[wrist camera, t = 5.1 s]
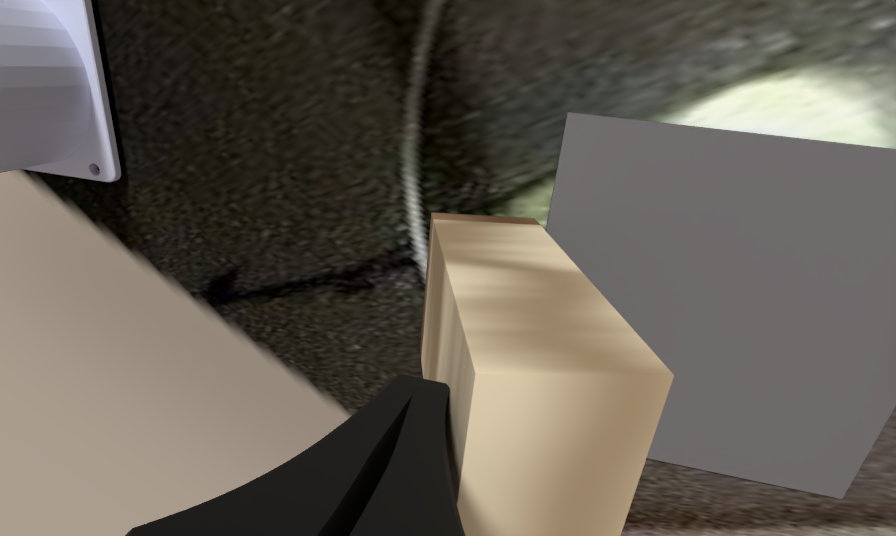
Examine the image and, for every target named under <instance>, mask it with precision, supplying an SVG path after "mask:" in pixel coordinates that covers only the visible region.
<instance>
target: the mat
mask: <svg viewBox="0 0 896 536" xmlns="http://www.w3.org/2000/svg"><path fill="white" fill-rule="evenodd" d="M546 232H547V233H548V234H549V235H550V237H551V238H552V239H553V240H554V241H555V242H556V243H557V244H558V246H559V247H560V248H561V249H562V250H563V251H564V252H565V253H566V254H567V256H568V257H569V258H570V259H571V260H572V261H573V262H574V263H575V265H576V266H577V267H578V268H579V269H580V270H581V271H582V272H583V274H584V275H585V276H586V277H587V278H588V279H589V280H590V281H591V283H592V284H593V285H594V286H595V287H596V288H597V289H598V290H599V291H600V293H601V294H602V295H603V296H604V297H605V298H606V299H607V300H608V302H609V303H610V304H611V305H612V306H613V307H614V308H615V309H616V311H617V312H618V313H619V314H620V315H621V316H622V317H623V318H624V320H625V321H626V322H627V323H628V324H629V325H630V326H631V327H632V328H633V330H634V331H635V332H636V333H637V334H638V335H639V336H640V337H641V339H642V340H643V341H644V342H645V343H646V344H647V345H648V346H649V348H650V349H651V350H652V351H653V352H654V353H655V354H656V355H657V357H658V358H659V359H660V360H661V361H662V362H663V363H664V364H665V365H666V367H667V368H668V369H669V370H670V371H671V372H672V373H673V374H674V378H673V381H672V384H671V387H670V390H669V392H668V395H667V398H666V401H665V404H664V407H663V410H662V413H661V416H660V419H659V422H658V425H657V428H656V431H655V434H654V437H653V440H652V443H651V446H650V449H649V452H648V455H647V458H649V459H653V460H658V461H663V462H668V463H672V464H677V465H682V466H687V467H691V468H696V469H701V470H706V471H710V472H715V473H720V474H725V475H730V476H734V477H739V478H744V479H749V480H753V481H758V482H763V483H768V484H772V485H777V486H782V487H787V488H791V489H796V490H801V491H806V492H811V493H815V494H820V495H825V496H830V497H834V498H839V499H842V498H843V496H844V495H845V493H846V491H847V489H848V488H849V486H850V484H851V483H852V481H853V479H854V477H855V476H856V474H857V472H858V470H859V469H860V467H861V465H862V463H863V462H864V460H865V458H866V456H867V455H868V453H869V451H870V449H871V448H872V446H873V444H874V443H875V441H876V439H877V437H878V436H879V434H880V432H881V430H882V429H883V427H884V425H885V423H886V422H887V420H888V418H889V416H890V415H891V413H892V411H893V409H894V408H895V406H896V149H889V148H880V147H871V146H862V145H854V144H845V143H836V142H827V141H818V140H809V139H801V138H792V137H783V136H774V135H765V134H756V133H748V132H739V131H730V130H721V129H712V128H703V127H695V126H686V125H677V124H668V123H659V122H651V121H642V120H633V119H624V118H615V117H606V116H598V115H589V114H580V113H571V112H567V117H566V123H565V128H564V134H563V139H562V145H561V150H560V155H559V161H558V166H557V172H556V177H555V183H554V188H553V194H552V199H551V205H550V210H549V215H548V221H547V226H546Z"/></svg>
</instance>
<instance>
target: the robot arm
mask: <svg viewBox="0 0 896 536" xmlns="http://www.w3.org/2000/svg"><path fill="white" fill-rule="evenodd" d="M97 166H98V167H99V170H100V172H99V171H98V169H97ZM17 169H25V170H32V171H38V172H45V173H51V174H58V175H64V176H71V177H77V178H84V179H90V180H96V181H103V182H113V181H117V180H118V179H120V176H121V168H120V162H119V157H118V151H117V145H116V140H115V134H114V128H113V123H112V117H111V111H110V106H109V100H108V94H107V89H106V83H105V77H104V72H103V66H102V60H101V55H100V49H99V44H98V38H97V32H96V27H95V21H94V15H93V10H92V4H91V0H0V173H1V172H6V171H11V170H17ZM449 391H450V388H449V386H448V385H447V384H446V383H442V382H437V381H432V380H427V379H422V378H417V377H413V376H408V375H403V374H399V375H398V376H396V377H395V378H394V379H393V380H392V381H391V382H390V383H389V384H388V385H387V386H386V387H384V388H383V389H382V390H381V391H380V392H379V393H378V394H377V395H376V396H375V397H374V398H372V399H371V400H370V401H369V402H368V403H367V404H366V405H364V406H363V407H362V408H361V409H360V410H358V411H357V412H356V413H355V414H354V415H352V416H351V417H350V418H349V419H348V420H347V421H345V422H344V423H343V424H341V425H340V426H338V427H337V428H336V429H334V430H333V431H332V432H331V433H329V434H328V435H326V436H325V437H324V438H322V439H321V440H320V441H318V442H317V443H315V444H314V445H312V446H311V447H309V448H308V449H307V450H305V451H303V452H302V453H300V454H299V455H297V456H296V457H294V458H292V459H291V460H289V461H287V462H286V463H284V464H282V465H280V466H279V467H277V468H275V469H273V470H271V471H270V472H268V473H266V474H264V475H262V476H260V477H258V478H256V479H255V480H252V481H251V482H249V483H247V484H245V485H243V486H241V487H238V488H236V489H234V490H232V491H230V492H227V493H226V494H223V495H221V496H218V497H216V498H214V499H212V500H209V501H207V502H204V503H202V504H199V505H197V506H194V507H192V508H189V509H187V510H184V511H181V512H178V513H175V514H173V515H170V516H167V517H164V518H162V519H159V520H156V521H153V522H150V523H147V524H144V525H141V526H138V527H135V528H132V530H130V532H128V533H127V534H126V535H125V536H465V533H464V529H463V526H462V523H461V519H460V515H459V511H458V508H457V504H456V499H455V495H454V491H453V486H452V480H451V475H450V469H449V462H448V455H447V446H446V432H445V425H446V417H447V408H448V400H449Z"/></svg>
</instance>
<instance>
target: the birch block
mask: <svg viewBox="0 0 896 536" xmlns="http://www.w3.org/2000/svg"><path fill="white" fill-rule="evenodd" d="M420 351H421V361H422V370H423V379H427V380H432V381H437V382H442V383H446V384H447V385H448V386H449V388H450V391H449V400H448V408H447V417H446V425H445V432H446V446H447V455H448V462H449V469H450V475H451V480H452V486H453V491H454V495H455V499H456V504H457V508H458V511H459V515H460V519H461V523H462V526H463V529H464V533H465V536H620V535H621V532H622V529H623V526H624V523H625V520H626V517H627V514H628V511H629V508H630V505H631V502H632V499H633V496H634V493H635V490H636V487H637V484H638V481H639V478H640V475H641V472H642V470H643V467H644V464H645V461H646V458H647V455H648V452H649V449H650V446H651V443H652V440H653V437H654V434H655V431H656V428H657V425H658V422H659V419H660V416H661V413H662V410H663V407H664V404H665V401H666V398H667V395H668V392H669V390H670V387H671V384H672V381H673V378H674V374H673V373H672V372H671V371H670V370H669V369H668V368H667V367H666V365H665V364H664V363H663V362H662V361H661V360H660V359H659V358H658V357H657V355H656V354H655V353H654V352H653V351H652V350H651V349H650V348H649V346H648V345H647V344H646V343H645V342H644V341H643V340H642V339H641V337H640V336H639V335H638V334H637V333H636V332H635V331H634V330H633V328H632V327H631V326H630V325H629V324H628V323H627V322H626V321H625V320H624V318H623V317H622V316H621V315H620V314H619V313H618V312H617V311H616V309H615V308H614V307H613V306H612V305H611V304H610V303H609V302H608V300H607V299H606V298H605V297H604V296H603V295H602V294H601V293H600V291H599V290H598V289H597V288H596V287H595V286H594V285H593V284H592V283H591V281H590V280H589V279H588V278H587V277H586V276H585V275H584V274H583V272H582V271H581V270H580V269H579V268H578V267H577V266H576V265H575V263H574V262H573V261H572V260H571V259H570V258H569V257H568V256H567V254H566V253H565V252H564V251H563V250H562V249H561V248H560V247H559V246H558V244H557V243H556V242H555V241H554V240H553V239H552V238H551V237H550V235H549V234H548V233H547V232H546V231H545V230H544V229H543V228H542V226H541V225H540V224H539V223H538V222H537V221H536V220H535V219H534V218H518V217H500V216H483V215H465V214H447V213H431V224H430V236H429V248H428V260H427V272H426V284H425V296H424V308H423V320H422V332H421V344H420Z"/></svg>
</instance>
